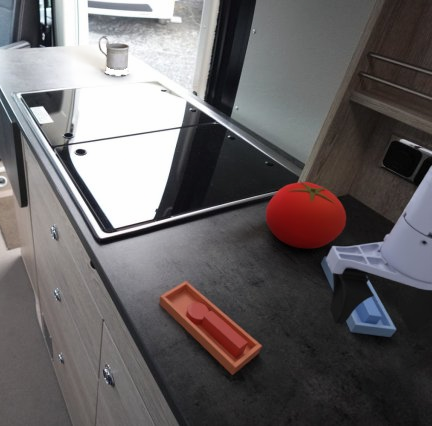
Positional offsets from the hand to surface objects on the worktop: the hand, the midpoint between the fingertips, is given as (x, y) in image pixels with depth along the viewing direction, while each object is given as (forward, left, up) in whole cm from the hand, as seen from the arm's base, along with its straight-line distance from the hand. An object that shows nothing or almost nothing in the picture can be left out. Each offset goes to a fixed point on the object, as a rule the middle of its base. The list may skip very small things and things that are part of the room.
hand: (371, 320), depth 41 cm
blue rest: (+6, -13, -9) cm, 17 cm away
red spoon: (+12, +10, -9) cm, 18 cm away
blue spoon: (+5, -12, -9) cm, 16 cm away
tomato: (+19, -17, -10) cm, 27 cm away
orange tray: (+13, +10, -9) cm, 19 cm away
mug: (+120, -42, -10) cm, 127 cm away
